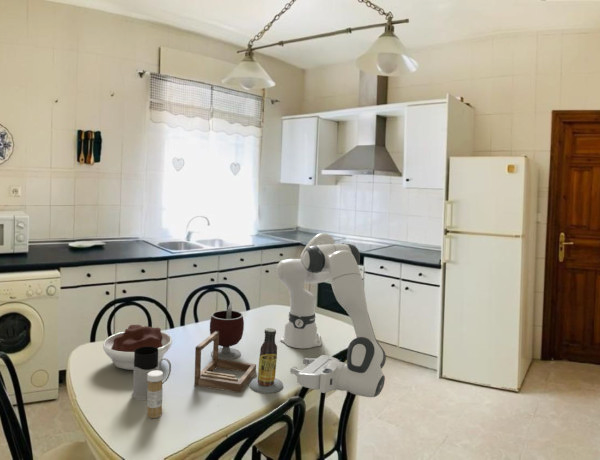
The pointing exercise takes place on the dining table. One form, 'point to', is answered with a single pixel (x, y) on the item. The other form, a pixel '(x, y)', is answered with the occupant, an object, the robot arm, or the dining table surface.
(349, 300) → the robot arm
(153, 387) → the sprinkles bottle
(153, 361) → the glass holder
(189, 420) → the dining table surface
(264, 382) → the sauce bottle
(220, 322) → the mate gourd
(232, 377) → the birch offcuts
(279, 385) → the slate mat
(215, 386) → the walnut rack
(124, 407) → the dining table surface
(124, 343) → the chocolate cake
